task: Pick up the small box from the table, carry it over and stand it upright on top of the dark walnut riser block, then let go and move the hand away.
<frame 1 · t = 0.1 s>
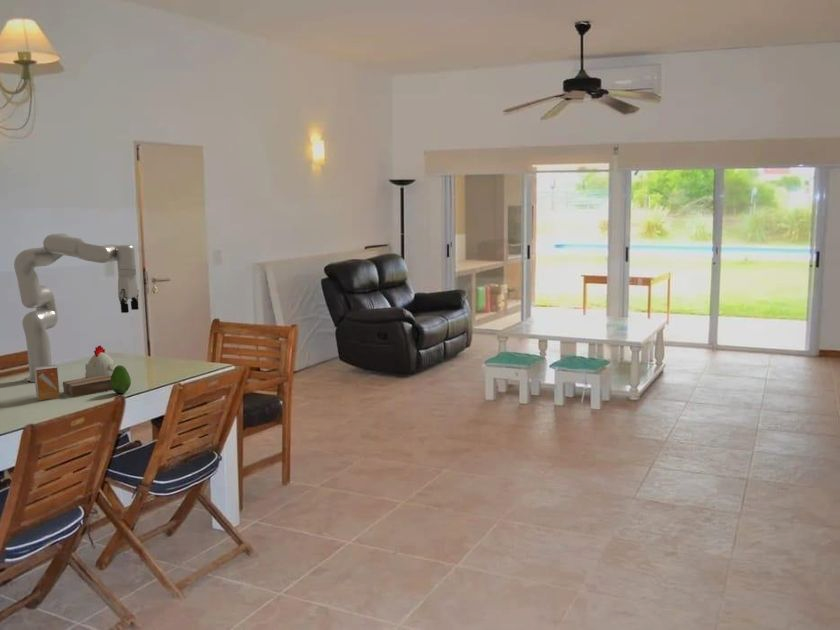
hand: (130, 311, 355), 31 cm above the table, tool pointing down, fingers open, 9 cm apart
fruit: (121, 393, 333), on the table
walnut riser block: (90, 391, 339), on the table
small box: (48, 398, 328), on the table
white chicken figurine: (102, 378, 364), on the table
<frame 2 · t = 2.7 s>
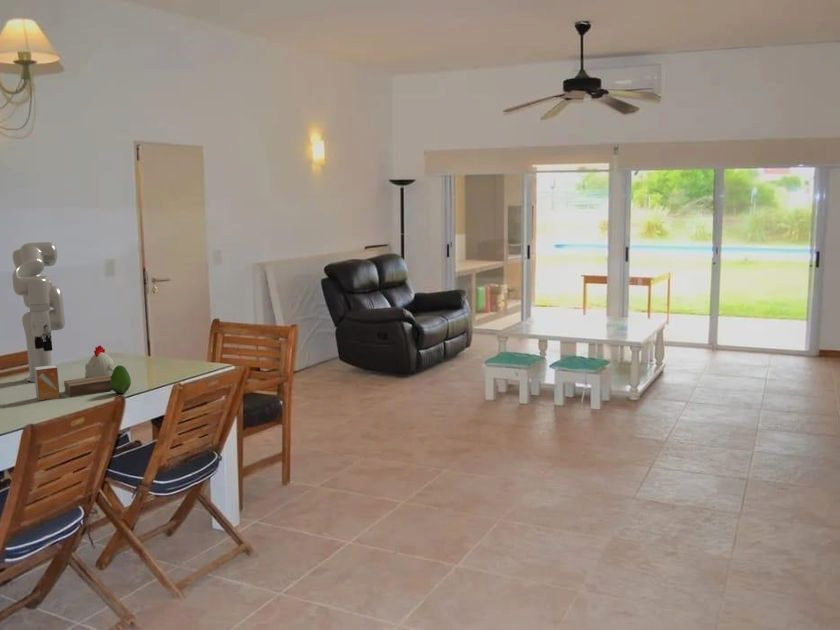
hand: (43, 349, 325), 20 cm above the table, tool pointing down, fingers open, 9 cm apart
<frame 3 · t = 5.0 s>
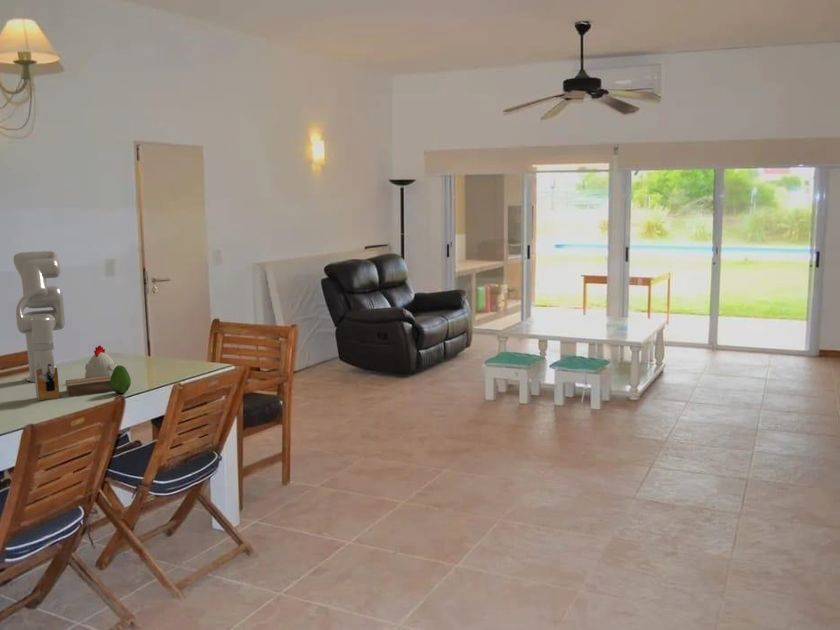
hand: (47, 388, 328), 4 cm above the table, tool pointing down, fingers closed on small box, 6 cm apart
small box: (48, 398, 328), on the table, touching gripper
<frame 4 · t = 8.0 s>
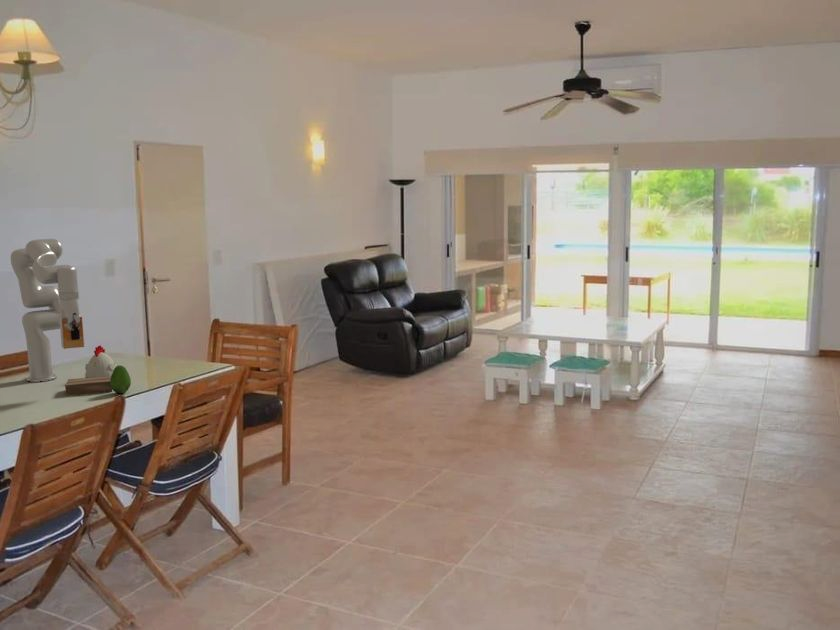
hand: (72, 338, 332), 24 cm above the table, tool pointing down, fingers closed on small box, 6 cm apart
small box: (73, 347, 333), point 20 cm above the table, touching gripper
when the fingers open (10 cm above the table, at t = 10.9 s): small box drops 2 cm, resting on walnut riser block.
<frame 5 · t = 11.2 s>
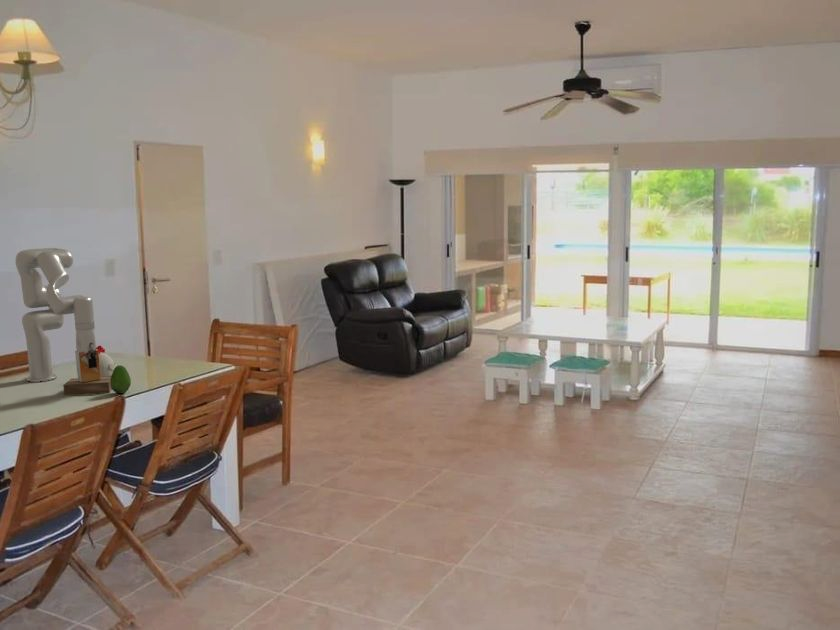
hand: (88, 366, 338), 11 cm above the table, tool pointing down, fingers open, 9 cm apart
walnut riser block: (90, 391, 339), on the table, touching small box
small box: (89, 380, 339), point 4 cm above the table, touching walnut riser block
everything else where it was.
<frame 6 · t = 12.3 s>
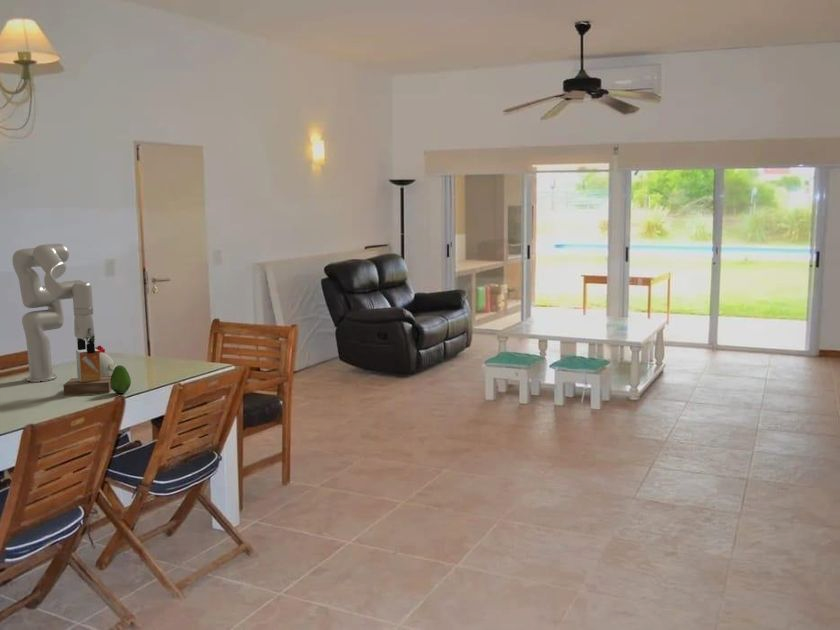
hand: (86, 351, 337), 17 cm above the table, tool pointing down, fingers open, 9 cm apart
walnut riser block: (90, 391, 339), on the table
small box: (89, 380, 338), point 4 cm above the table
everything else where it was.
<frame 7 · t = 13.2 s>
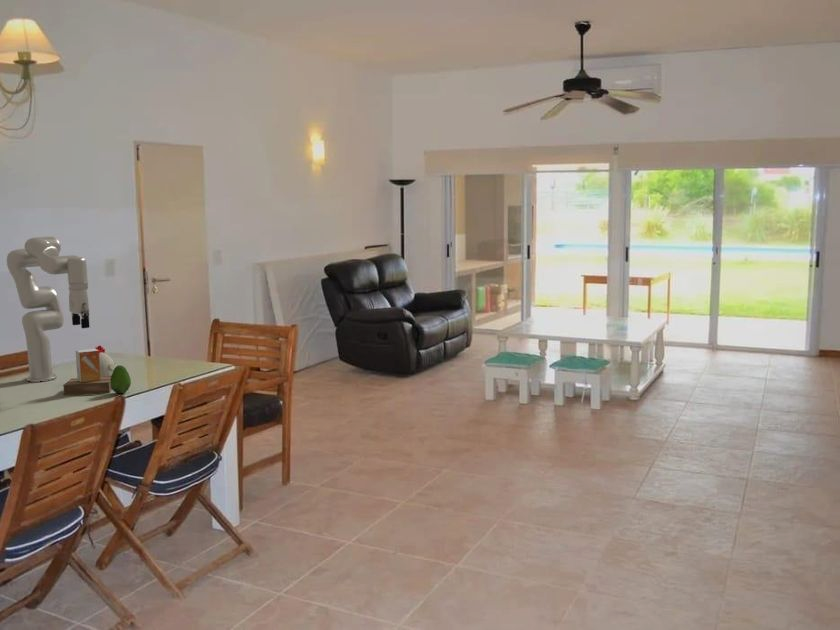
hand: (81, 326, 338), 27 cm above the table, tool pointing down, fingers open, 9 cm apart
nothing on the table moved.
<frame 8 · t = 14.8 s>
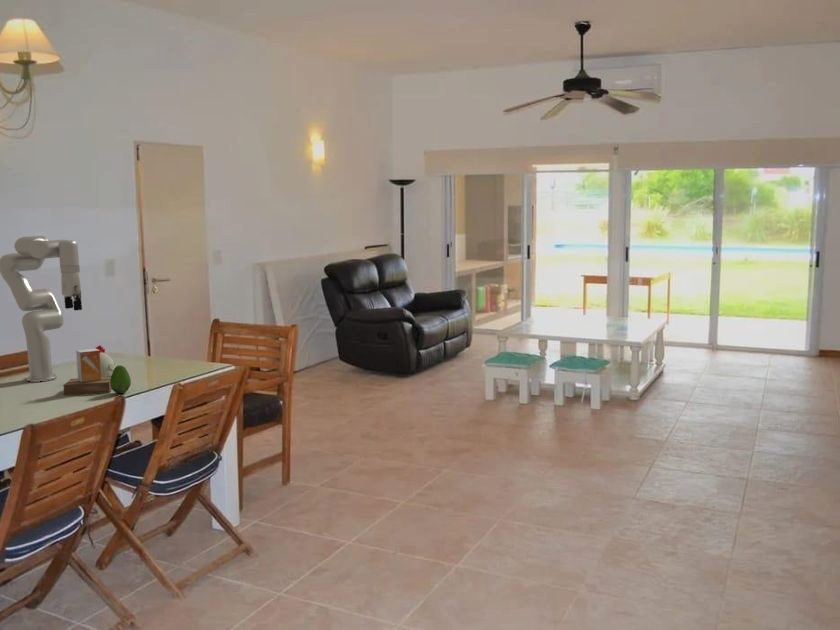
hand: (73, 309, 342), 34 cm above the table, tool pointing down, fingers open, 9 cm apart
walnut riser block: (90, 392, 339), on the table, touching small box
small box: (89, 380, 339), point 4 cm above the table, touching walnut riser block
everything else where it was.
at the end: small box inside the target area on the walnut riser block (0.4 cm from its centre), point 4.8 cm above the walnut riser block's base; small box tilted 0°; small box touching walnut riser block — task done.
